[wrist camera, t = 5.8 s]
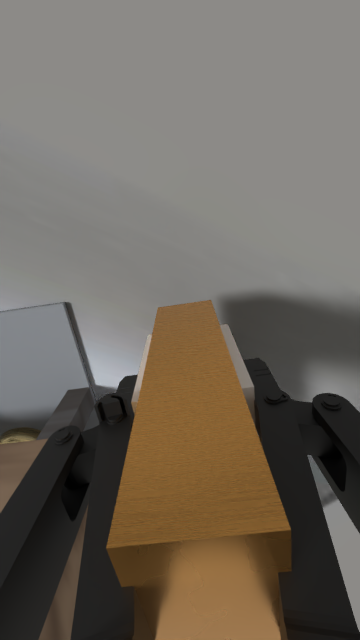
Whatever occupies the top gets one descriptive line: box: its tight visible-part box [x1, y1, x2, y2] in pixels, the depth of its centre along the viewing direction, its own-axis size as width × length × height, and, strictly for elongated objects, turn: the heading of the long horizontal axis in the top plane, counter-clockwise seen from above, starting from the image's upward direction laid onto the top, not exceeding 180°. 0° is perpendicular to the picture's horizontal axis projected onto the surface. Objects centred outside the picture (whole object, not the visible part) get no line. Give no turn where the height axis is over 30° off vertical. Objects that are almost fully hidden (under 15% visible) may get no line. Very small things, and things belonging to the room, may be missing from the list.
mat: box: [0, 302, 99, 436], centre depth 29 cm, size 36×16×1 cm, turn 9°
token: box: [0, 427, 41, 444], centre depth 27 cm, size 7×7×2 cm
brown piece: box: [106, 300, 291, 640], centre depth 16 cm, size 26×6×14 cm, turn 9°
